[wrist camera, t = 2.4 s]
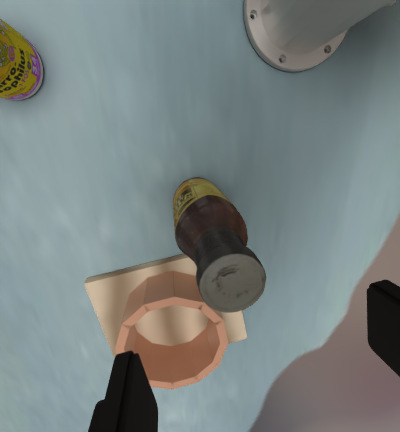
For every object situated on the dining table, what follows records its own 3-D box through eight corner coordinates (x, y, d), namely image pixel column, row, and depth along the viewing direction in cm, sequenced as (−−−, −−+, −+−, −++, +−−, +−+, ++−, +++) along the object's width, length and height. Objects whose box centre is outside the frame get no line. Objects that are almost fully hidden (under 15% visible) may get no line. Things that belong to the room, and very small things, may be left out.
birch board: (226, 242, 35) (229, 247, 34) (244, 331, 40) (247, 338, 38) (87, 278, 34) (83, 283, 32) (122, 364, 39) (120, 373, 37)
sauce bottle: (176, 173, 31) (188, 215, 12) (223, 180, 32) (300, 229, 14) (169, 221, 33) (171, 323, 14) (214, 226, 34) (271, 328, 15)
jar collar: (207, 262, 34) (215, 285, 28) (224, 337, 38) (234, 371, 32) (112, 286, 33) (101, 315, 27) (140, 360, 37) (135, 399, 31)
